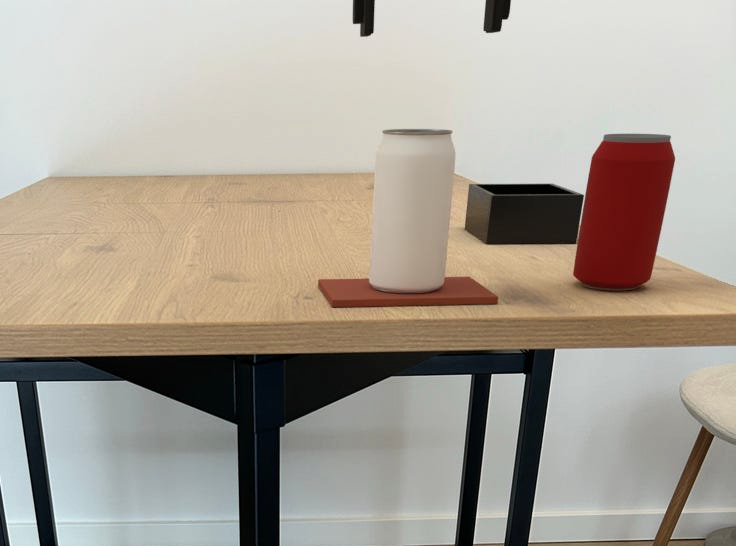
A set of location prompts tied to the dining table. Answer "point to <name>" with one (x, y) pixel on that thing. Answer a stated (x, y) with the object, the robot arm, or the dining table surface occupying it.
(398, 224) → the can
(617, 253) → the beverage can
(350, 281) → the mat
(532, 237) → the box
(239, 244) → the dining table surface
